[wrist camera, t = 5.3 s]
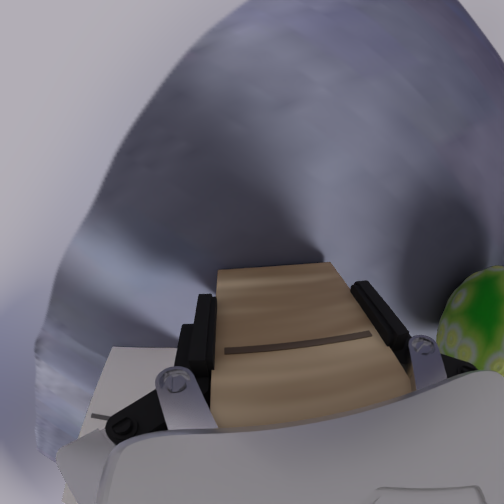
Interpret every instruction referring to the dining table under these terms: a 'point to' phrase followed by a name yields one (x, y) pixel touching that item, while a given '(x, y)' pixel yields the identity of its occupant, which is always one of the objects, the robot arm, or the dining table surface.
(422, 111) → the dining table surface
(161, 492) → the robot arm
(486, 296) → the decorative ball
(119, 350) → the domino
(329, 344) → the domino
